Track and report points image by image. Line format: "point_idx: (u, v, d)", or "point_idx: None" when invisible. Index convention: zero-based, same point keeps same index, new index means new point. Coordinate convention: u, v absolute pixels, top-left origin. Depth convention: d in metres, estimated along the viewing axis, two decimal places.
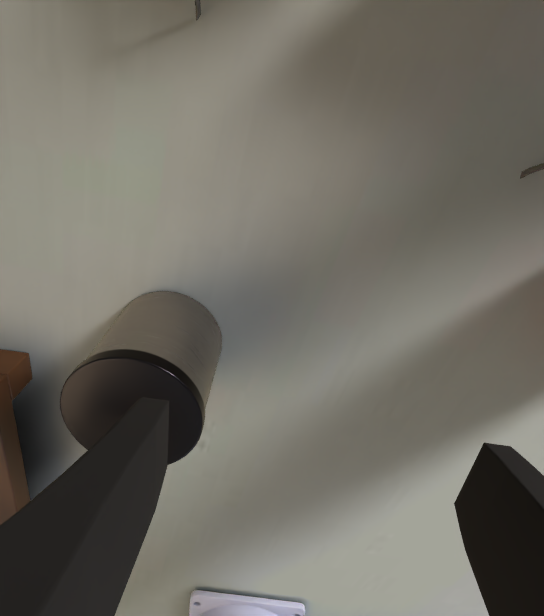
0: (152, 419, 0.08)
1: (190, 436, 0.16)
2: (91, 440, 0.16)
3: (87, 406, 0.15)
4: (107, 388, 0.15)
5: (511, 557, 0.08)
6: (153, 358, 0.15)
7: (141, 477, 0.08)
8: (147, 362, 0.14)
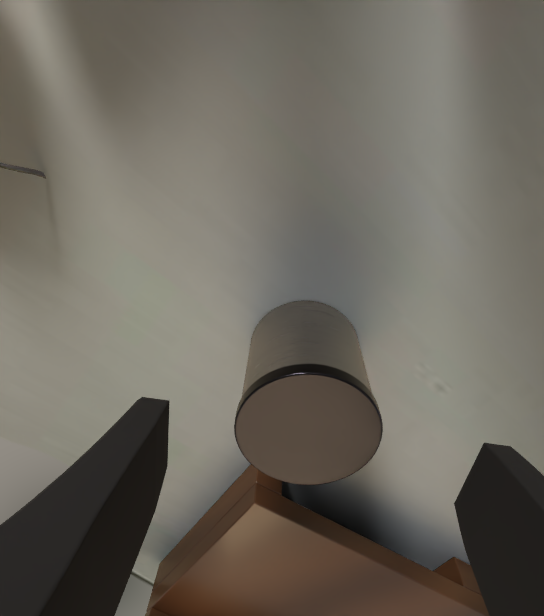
0: (152, 419, 0.08)
1: (359, 400, 0.14)
2: (314, 475, 0.16)
3: (277, 457, 0.16)
4: (266, 432, 0.15)
5: (511, 557, 0.08)
6: (259, 381, 0.14)
7: (141, 477, 0.08)
8: (256, 388, 0.14)
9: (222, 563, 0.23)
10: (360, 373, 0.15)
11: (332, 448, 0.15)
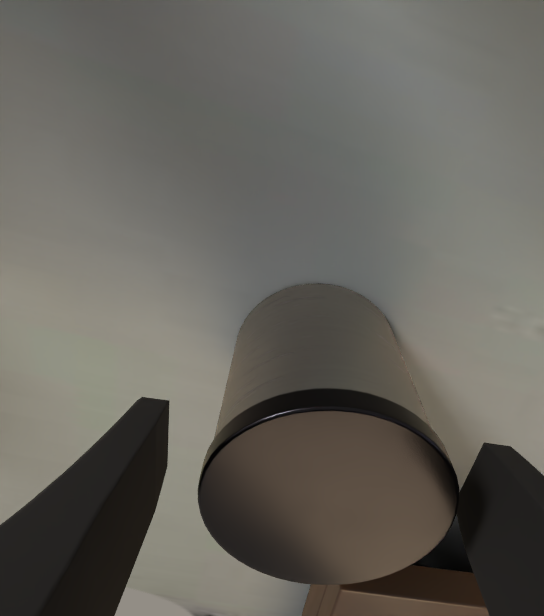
0: (152, 419, 0.08)
1: (378, 431, 0.08)
2: (376, 564, 0.09)
3: (301, 555, 0.09)
4: (261, 527, 0.09)
5: (511, 557, 0.08)
6: (207, 454, 0.09)
7: (141, 477, 0.08)
8: (203, 471, 0.08)
9: None
10: (375, 375, 0.09)
11: (380, 518, 0.09)
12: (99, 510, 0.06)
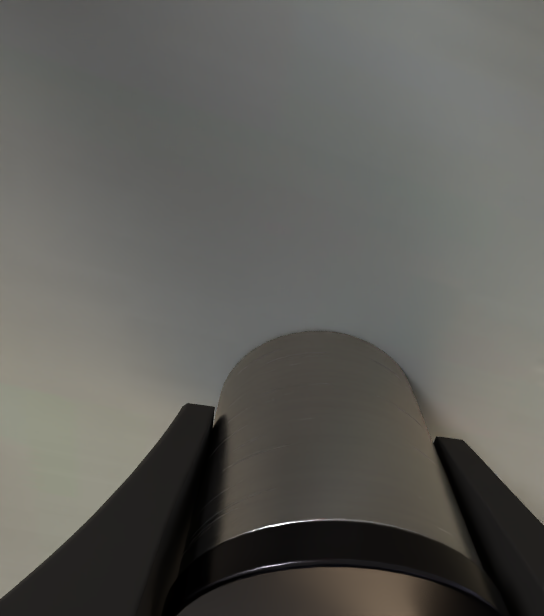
0: (202, 426, 0.08)
1: (412, 593, 0.05)
2: None
3: None
4: None
5: None
6: (166, 601, 0.06)
7: (194, 484, 0.08)
8: None
9: None
10: (401, 486, 0.06)
11: None
12: (167, 519, 0.06)
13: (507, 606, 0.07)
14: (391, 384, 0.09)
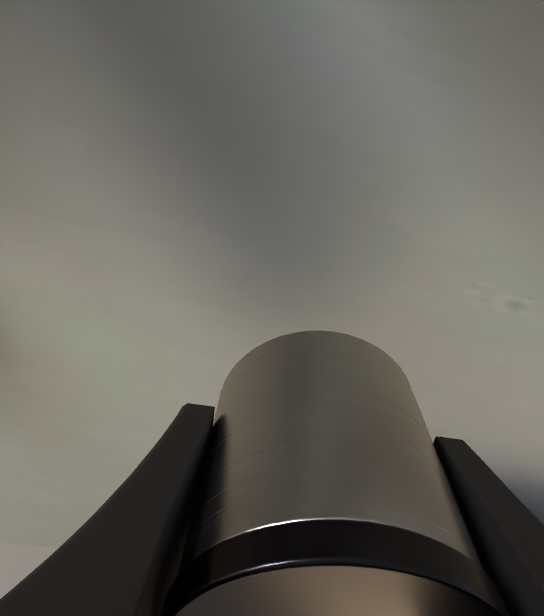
0: (202, 426, 0.08)
1: (411, 592, 0.05)
2: None
3: None
4: None
5: None
6: (166, 600, 0.06)
7: (194, 484, 0.08)
8: None
9: None
10: (400, 485, 0.06)
11: None
12: (167, 519, 0.06)
13: (507, 606, 0.07)
14: (391, 384, 0.09)
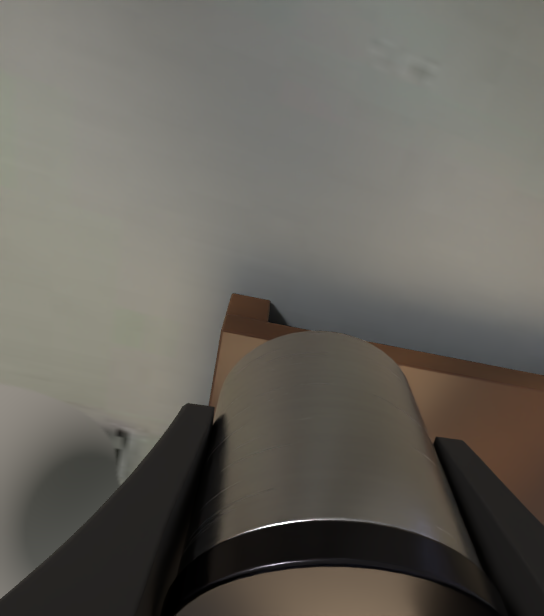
0: (203, 426, 0.08)
1: (411, 593, 0.05)
2: None
3: None
4: None
5: None
6: (166, 601, 0.06)
7: (194, 484, 0.08)
8: None
9: None
10: (400, 486, 0.06)
11: None
12: (168, 519, 0.06)
13: (507, 606, 0.07)
14: (390, 384, 0.09)
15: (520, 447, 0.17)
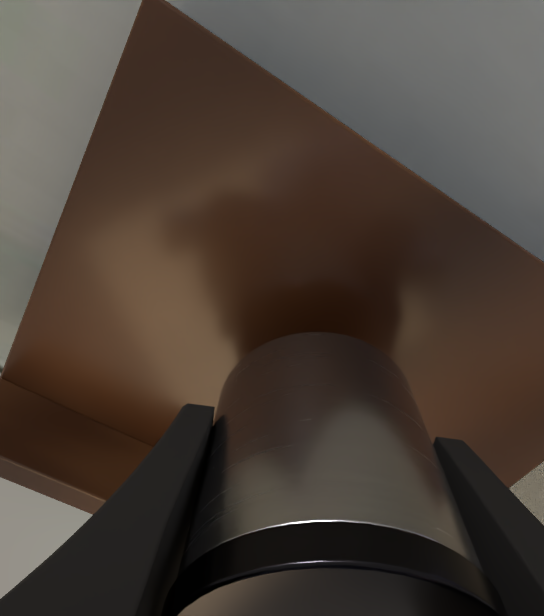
0: (202, 426, 0.08)
1: (411, 594, 0.05)
2: None
3: None
4: None
5: None
6: (166, 602, 0.06)
7: (194, 484, 0.08)
8: None
9: (109, 230, 0.11)
10: (400, 487, 0.06)
11: None
12: (167, 519, 0.06)
13: (507, 606, 0.07)
14: (390, 385, 0.09)
15: (502, 362, 0.12)
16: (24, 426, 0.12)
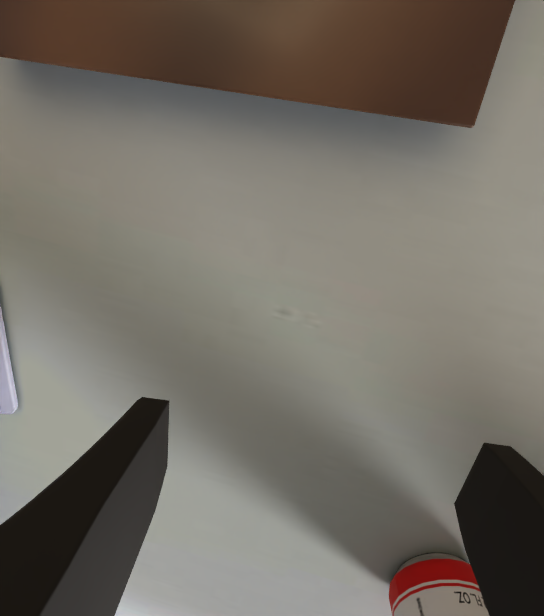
0: (152, 419, 0.08)
1: None
2: None
3: None
4: None
5: (511, 558, 0.08)
6: None
7: (141, 477, 0.08)
8: None
9: None
10: None
11: None
12: (99, 510, 0.06)
13: None
14: None
15: None
16: None
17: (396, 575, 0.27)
